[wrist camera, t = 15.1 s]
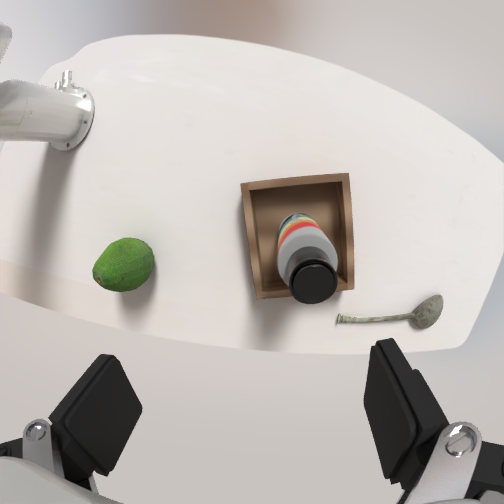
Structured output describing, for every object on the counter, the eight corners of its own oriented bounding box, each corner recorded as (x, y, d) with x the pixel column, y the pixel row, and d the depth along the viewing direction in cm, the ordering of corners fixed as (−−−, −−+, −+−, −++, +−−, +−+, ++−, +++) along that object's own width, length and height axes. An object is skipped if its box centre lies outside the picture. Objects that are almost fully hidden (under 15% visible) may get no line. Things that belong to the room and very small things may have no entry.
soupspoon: (436, 321, 43) (443, 289, 41) (444, 328, 39) (452, 296, 38) (334, 332, 44) (338, 298, 43) (338, 342, 41) (342, 306, 39)
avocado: (118, 234, 43) (75, 253, 31) (157, 229, 42) (118, 249, 30) (127, 278, 45) (89, 306, 33) (166, 276, 44) (132, 308, 32)
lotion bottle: (312, 208, 38) (344, 239, 19) (321, 245, 39) (355, 308, 20) (274, 217, 39) (267, 258, 20) (283, 254, 40) (285, 325, 21)
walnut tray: (244, 182, 39) (240, 183, 34) (340, 173, 37) (348, 173, 32) (258, 286, 43) (256, 299, 38) (346, 277, 41) (354, 289, 36)
